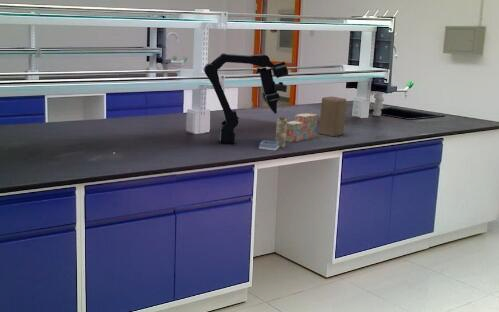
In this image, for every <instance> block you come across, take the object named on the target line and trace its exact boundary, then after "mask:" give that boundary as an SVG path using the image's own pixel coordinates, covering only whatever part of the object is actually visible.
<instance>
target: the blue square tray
mask: <svg viewBox="0 0 499 312" xmlns="http://www.w3.org/2000/svg"><path fill="white" fill-rule="evenodd" d="M279 148H280V147H279V142H276V141H274V140H273V141H272V140H267V139H266V140H265V139H263V140H262V141H261V142H259V145H258V149H261V150H267V151H277V150H278V149H279Z"/></svg>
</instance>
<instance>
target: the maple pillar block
mask: <svg viewBox="0 0 499 312" xmlns="http://www.w3.org/2000/svg"><path fill="white" fill-rule="evenodd" d="M287 122H288V119H287V118H285V117H284V116H282V117H278V118H277V119H276V129H275V130H276V131H275V142H279V148H285V147H286V142H287V141H286V128H287Z"/></svg>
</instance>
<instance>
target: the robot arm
mask: <svg viewBox="0 0 499 312" xmlns="http://www.w3.org/2000/svg"><path fill="white" fill-rule="evenodd" d="M226 63H234V64H249V65H254V66H256V67H257V68H256V70H255V72H254V73H255V74H259V76H260V81H261V86H262V90H263V91H262V92H261V94H262V95H261V96H262V97H263V99H264V101H265V103H266V104H267V106H268V108H269V109H270V110H271V112H273V113H274V115H275V114H278V111H277V110H278V108H277V107H278V105H277V104H278V101H279V100H280V98H281V97H280V96H281V95H280V93H278V92H283V93H287V90H288V85H286V84H284V82H282V81H279V82H278V83H276V82H275V81H274V77H275V78H276V79H278V78H283V77H287V76H289V69H288V68H287V64H286V62H285V61H281V62H278V63H273V62H271V59H270V57H269V56H268V55H267V54H265V53H259V54H258V53H257V54H253V55H252V54H251V55H250V54H249V55H245V54H230V53H225V52H224V53H220V55H219V56H217V58H214V60H212V61H211V62H210V63H209V62H208V63H206V64H205V65H204V68H203V72H204V74H205V76H206V78H208V80H209V82H210V83H211V85H212V88H213V90H214V91H215V94H216V97H217V99H218V101H219V104H220V107H221V108H222V112H223V117H224V120H223V121H222V122H221V123H220V127H221V128H220V129H219V130H220V131H219V139H218V141H219V143H220V144H232V145H233V144H235V142H236V141H235V140H236V133H235V130H234V129H235V128H236V127H237V126H238V125H239V120H240V118H239V117H238V115H237V114H238V113H237V111H236V109H235V108H234V109H232V108H231V106H230V103H229V101H228V99H227V96H226V95H225V92H224V89H223V86H222V85H221V82H220V77H219V73H218V70H220V69H221V68H222V66H224V64H226ZM259 67H262V68H259ZM266 67H268V68H266Z"/></svg>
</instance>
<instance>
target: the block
mask: <svg viewBox="0 0 499 312" xmlns="http://www.w3.org/2000/svg"><path fill="white" fill-rule="evenodd" d="M320 103H321V104H320V105H321V106H320V116H319V126H318V133H319V134H320V135H324V136H328V137H331V138H332V137H338V136H342V135H344V129H345V127H344V126H345V119H346V109H347V99H346V98H343V97H337V96H326V97H325V96H324V97H322V98H321V102H320Z"/></svg>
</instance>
